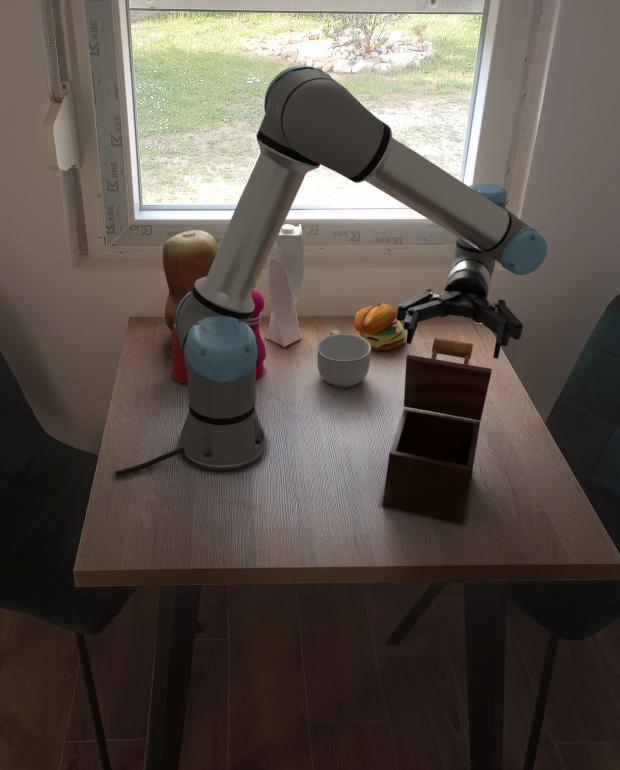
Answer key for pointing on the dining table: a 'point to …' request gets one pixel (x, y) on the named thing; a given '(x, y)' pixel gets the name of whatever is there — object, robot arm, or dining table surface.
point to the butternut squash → (185, 266)
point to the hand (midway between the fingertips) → (452, 343)
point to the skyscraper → (285, 284)
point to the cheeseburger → (380, 327)
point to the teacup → (343, 359)
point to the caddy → (431, 464)
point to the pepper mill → (254, 325)
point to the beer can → (178, 359)
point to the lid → (446, 382)
